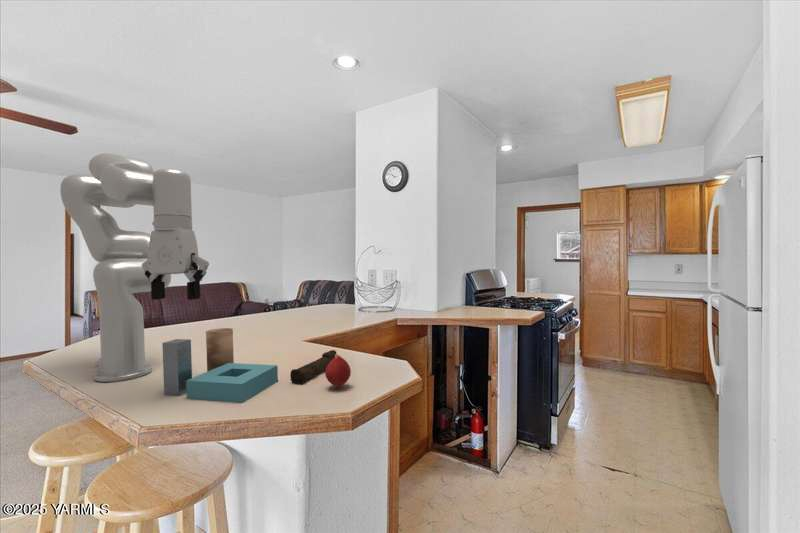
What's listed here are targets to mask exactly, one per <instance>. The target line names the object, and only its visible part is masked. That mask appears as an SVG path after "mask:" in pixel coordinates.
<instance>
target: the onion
mask: <svg viewBox="0 0 800 533" xmlns="http://www.w3.org/2000/svg"><path fill="white" fill-rule="evenodd" d="M334 356H335V358H334V359H332V360H331V361H330V362H329V364H328V365H327V367H326V369H325V370H324V372H325V374H324V375H325V378H326V379H327V381H328V382H329V383H330V384H331V385H332V386H333V387H334V388H336V389H339V388H341V387H343V386H344V385H345V384H347V383H348V380H350V377H351V372H352V370H351V366H350V365H349V363H348V361H346V360H347V359H344V358H343V357H342V356H340V354H338V353H337V354H335V355H334Z"/></svg>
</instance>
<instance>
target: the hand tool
mask: <svg viewBox="0 0 800 533" xmlns="http://www.w3.org/2000/svg"><path fill="white" fill-rule="evenodd" d="M335 354H338V352H337V350H335V349H331V350H329V351H326V352H323V353H322V355H321V357H319V358H318V359H316V360H314V361H311V362H309V363H307V364H304V365H303V366H300V367H298V368H295V369H292V370H291V371H290V382H291V384H295V385H302V384H304V383H306V382H308V381H307V380H309V379H311V378H312V377H314V376H316V375H318V374H320V373H321V372H323V371H326V367H327V365H328V364H329V362H330V361H331V360H332V359H334V358H335V356H334V355H335Z"/></svg>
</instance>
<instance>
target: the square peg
mask: <svg viewBox="0 0 800 533" xmlns="http://www.w3.org/2000/svg"><path fill="white" fill-rule="evenodd" d="M161 345H162V369H163V370H162V371H163V373H162V376H163V395H164V396H169V397H171V396H173V397H181V396H182V395H184V394H187V390H186V380H189V379H191V378H193V372H192V371H193V367H192V365H193V364H192V340H191V339H190V338H188V339H186V338H182V339H181V338H176V339H171V340H168V341H164V342H162V344H161Z"/></svg>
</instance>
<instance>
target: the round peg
mask: <svg viewBox="0 0 800 533" xmlns="http://www.w3.org/2000/svg"><path fill="white" fill-rule="evenodd" d="M205 341H206V343H205V344H206V345H205V346H206V372H208V371H210V370H213V369H215V368H218V367H220V366H222V365H225V364H227V363H235V362H234V358H235V357H234V329H233V328H229V327H226V328H225V327H224V328H223V327H222V328H221V327H220V328H214V329H212V328H211V329H209V330H206V331H205Z"/></svg>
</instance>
